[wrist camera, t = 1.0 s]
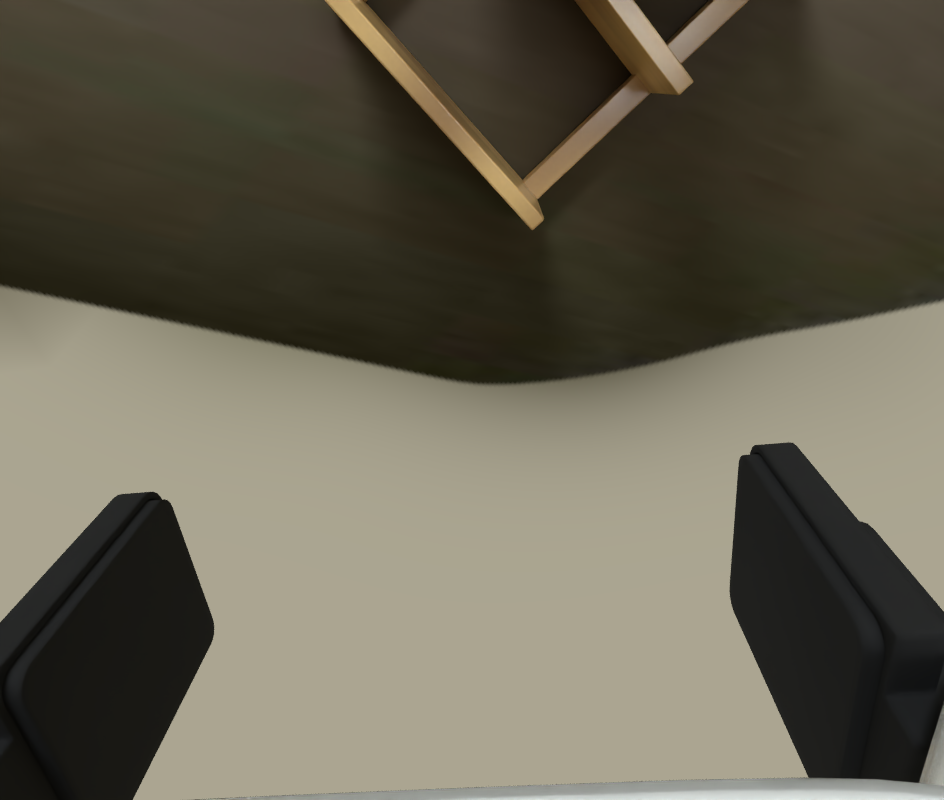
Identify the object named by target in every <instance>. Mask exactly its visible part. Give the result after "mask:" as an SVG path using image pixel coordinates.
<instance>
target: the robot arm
mask: <svg viewBox="0 0 944 800" xmlns="http://www.w3.org/2000/svg"><path fill="white" fill-rule="evenodd" d="M730 598H731V604H732V607H733V610H734V613H735V615H736V617H737V619H738V622H739V624H740V626H741V628H742V631H743V633H744V635H745V637H746V639H747V642H748V644H749V646H750V649H751V651H752V653H753V655H754V657H755V660H756V662H757V664H758V666H759V668H760V670H761V673H762V675H763V677H764V679H765V682H766V684H767V686H768V688H769V691H770V693H771V695H772V697H773V699H774V702H775V704H776V706H777V708H778V711H779V713H780V715H781V717H782V719H783V722H784V724H785V726H786V728H787V730H788V733H789V735H790V737H791V739H792V742H793V744H794V746H795V748H796V750H797V753H798V755H799V757H800V759H801V761H802V764H803V766H804V768H805V770H806V773H807V775H808V777H809V778H763V779H710V780H669V781H639V782H611V783H583V784H556V785H528V786H503V787H502V786H501V787H474V788H450V789H426V790H400V791H377V792H352V793H329V794H307V795H282V796H260V797H239V798H219V799H218V798H217V799H197V800H944V611H942V609H941V608H940V607H939V606H938V604H937V603H936V602H935V601H934V600H933V598H932V597H931V596H930V595H929V594H928V593H927V592H926V590H925V589H924V588H923V587H922V586H921V584H920V583H919V582H918V581H917V580H916V578H915V577H914V576H913V575H912V574H911V572H910V571H909V570H908V569H907V568H906V567H905V565H904V564H903V563H902V562H901V561H900V560H899V558H898V557H897V556H896V555H895V554H894V552H893V551H892V550H891V549H890V548H889V547H888V545H887V544H886V543H885V542H884V541H883V539H882V538H881V537H880V536H879V535H878V534H877V532H876V531H875V530H874V529H873V528H872V527H871V526H869V525H868V524H866V523H863V522H859V521H858V519H857V518H856V517H855V516H854V515H853V513H852V512H851V511H850V510H849V509H848V507H847V506H846V505H845V504H844V503H843V501H842V500H841V499H840V498H839V497H838V495H837V494H836V493H835V492H834V490H833V489H832V488H831V487H830V486H829V484H828V483H827V482H826V481H825V480H824V478H823V477H822V476H821V475H820V474H819V472H818V471H817V470H816V469H815V468H814V466H813V465H812V464H811V463H810V461H809V460H808V459H807V458H806V457H805V456H804V454H803V453H802V452H801V451H800V449H799V448H798V447H797V446H796V445H795V444H793V443H778V444H765V445H755V446H753V447H752V450H751V452H750V455H743V456H741V457H740V460H739V467H738V481H737V494H736V508H735V521H734V536H733V549H732V564H731V576H730ZM213 635H214V623H213V618H212V616H211V613H210V610H209V607H208V604H207V602H206V599H205V596H204V593H203V591H202V588H201V586H200V582H199V579H198V577H197V574H196V571H195V568H194V566H193V563H192V560H191V557H190V555H189V552H188V549H187V546H186V543H185V541H184V538H183V535H182V532H181V530H180V527H179V524H178V521H177V518H176V516H175V513H174V510H173V507H172V505H171V503H170V502H169V501H167V500H162V499H161V497H160V496H159V495H158V494H157V493H155V492H144V493H131V494H121V495H118V496H116V497H115V498H114V499H112V501H111V502H110V503H109V504H108V505H107V506H106V507H105V508H104V509H103V510H102V512H101V513H100V514H99V515H98V516H97V517H96V518H95V519H94V520H93V521H92V523H91V524H90V525H89V526H88V527H87V528H86V529H85V530H84V531H83V532H82V533H81V535H80V536H79V537H78V538H77V539H76V540H75V541H74V542H73V543H72V544H71V546H70V547H69V548H68V549H67V550H66V551H65V552H64V553H63V554H62V555H61V556H60V558H59V559H58V560H57V561H56V562H55V563H54V564H53V565H52V566H51V568H50V569H49V570H48V571H47V572H46V573H45V574H44V575H43V576H42V577H41V578H40V580H39V581H38V582H37V583H36V584H35V585H34V586H33V587H32V588H31V589H30V590H29V592H28V593H27V594H26V595H25V596H24V597H23V598H22V599H21V600H20V601H19V603H18V604H17V605H16V606H15V607H14V608H13V609H12V610H11V611H10V613H8V615H7V616H6V617H5V618H4V619H3V620H2V621H1V622H0V800H133V798H134V796H135V794H136V792H137V790H138V788H139V786H140V784H141V782H142V780H143V778H144V776H145V774H146V772H147V770H148V768H149V766H150V764H151V762H152V760H153V758H154V756H155V754H156V752H157V750H158V748H159V746H160V744H161V742H162V740H163V738H164V736H165V734H166V732H167V730H168V728H169V726H170V724H171V722H172V720H173V718H174V716H175V714H176V712H177V710H178V708H179V706H180V704H181V702H182V700H183V698H184V696H185V694H186V692H187V690H188V689H189V686H190V684H191V683H192V681H193V679H194V677H195V674H196V673H197V671H198V669H199V667H200V665H201V662H202V660H203V659H204V657H205V655H206V653H207V651H208V649H209V647H210V645H211V642H212V640H213Z"/></svg>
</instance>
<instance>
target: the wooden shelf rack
mask: <svg viewBox="0 0 944 800" xmlns="http://www.w3.org/2000/svg"><path fill="white" fill-rule="evenodd" d="M324 1H325V2H326V3H327V4H328V5H329V6H330V7H331V8H332V9H333V11H334V12H335V13H336V14H337V15H338V16H339V17H340V18H341V19H342V21H343V22H344V23H345V24H346V25H347V26H348V27H349V28H350V29H351V31H352V32H353V33H354V34H355V35H356V36H357V37H358V38H359V39H360V40H361V42H362V43H363V44H364V45H365V46H366V47H367V48H368V49H369V50H370V52H371V53H372V54H373V55H374V56H375V57H376V58H377V59H378V60H379V62H380V63H381V64H382V65H383V66H384V67H385V68H386V69H387V70H388V72H389V73H390V74H391V75H392V76H393V77H394V78H395V79H396V80H397V81H398V83H399V84H400V85H401V86H402V87H403V88H404V89H405V90H406V91H407V93H408V94H409V95H410V96H411V97H412V98H413V99H414V100H415V101H416V103H417V104H418V105H419V106H420V107H421V108H422V109H423V110H424V111H425V112H426V114H427V115H428V116H429V117H430V118H431V119H432V120H433V121H434V122H435V124H436V125H437V126H438V127H439V128H440V129H441V130H442V131H443V132H444V134H445V135H446V136H447V137H448V138H449V139H450V140H451V141H452V142H453V144H454V145H455V146H456V147H457V148H458V149H459V150H460V151H461V152H462V153H463V155H464V156H465V157H466V158H467V159H468V160H469V161H470V162H471V163H472V165H473V166H474V167H475V168H476V169H477V170H478V171H479V172H480V173H481V175H482V176H483V177H484V178H485V179H486V180H487V181H488V182H489V183H490V185H491V186H492V187H493V188H494V189H495V190H496V191H497V192H498V193H499V194H500V196H501V197H502V198H503V199H504V200H505V201H506V202H507V203H508V204H509V206H510V207H511V208H512V209H513V210H514V211H515V212H516V213H517V214H518V216H519V217H520V218H521V219H522V220H523V221H524V222H525V223H526V224H527V225H528V227H529V228H530V229H531V230H533V229H535V228H536V227H537V226H538V225H539V224H540V223H541V222H542V221H543V220H544V217H543V214H542V211H541V208H540V206H539V203H538V200H537V199H539V198H540V197H541V196H542V195H543V194H544V193H545V192H546V191H547V190H548V189H549V188H550V187H551V186H552V185H553V184H554V183H556V182H557V181H558V180H559V179H560V178H561V177H562V176H563V175H564V174H565V173H566V172H567V171H568V170H569V169H570V168H571V167H573V166H574V165H575V164H576V163H577V162H578V161H579V160H580V159H581V158H582V157H583V156H584V155H585V154H586V153H587V152H588V151H590V150H591V149H592V148H593V147H594V146H595V145H596V144H597V143H598V142H599V141H600V140H601V139H602V138H603V137H604V136H605V135H607V134H608V133H609V132H610V131H611V130H612V129H613V128H614V127H615V126H616V125H617V124H618V123H619V122H620V121H621V120H622V119H624V118H625V117H626V116H627V115H628V114H629V113H630V112H631V111H632V110H633V109H634V108H635V107H636V106H637V105H638V104H639V103H641V102H642V101H643V100H644V99H645V98H646V97H647V96H648V95H649V94H650V93H658V94H671V95H680V94H681V93H682V92H683V91H684V90H685V89H686V88H687V87H689V86H690V85H691V84H692V83H693V79H692V78H691V77H690V75H689V74H688V73H687V71H686V70H685V69H684V67H683V66H682V65H681V64H682V63H683V62H684V61H685V60H686V59H687V58H688V57H689V56H690V55H692V54H693V53H694V52H695V51H696V50H697V49H698V48H699V47H700V46H701V45H702V44H703V43H704V42H705V41H706V40H707V39H709V38H710V37H711V36H712V35H713V34H714V33H715V32H716V31H717V30H718V29H719V28H720V27H721V26H722V25H723V24H724V23H726V22H727V21H728V20H729V19H730V18H731V17H732V16H733V15H734V14H735V13H736V12H737V11H738V10H739V9H740V8H741V7H743V6H744V5H745V4H746V3H747V2H748V1H749V0H709V1H708V2H707V3H706V4H705V5H704V6H703V7H702V8H701V9H700V10H698V11H697V12H696V13H695V14H694V15H693V16H692V17H691V18H690V19H689V20H688V21H687V22H686V23H685V24H684V25H683V26H682V27H681V28H680V29H679V30H678V31H677V32H676V33H675V34H674V35H673V36H671V37H670V38H669V39H668V40H667V41H666V42H664V40H663V39H662V38H661V36H660V35H659V34H658V32H657V31H656V29H655V28H654V27H653V25H652V24H651V23H650V21H649V20H648V19H647V17H646V16H645V15H644V13H643V12H642V11H641V9H640V8H639V6H638V5H637V4H636V2H635V1H634V0H575V2H576V3H577V4H578V6H579V7H580V8H581V10H582V11H583V12H584V13H585V15H586V16H587V17H588V19H589V20H590V21H591V22H592V24H593V25H594V26H595V28H596V29H597V30H598V32H599V33H600V34H601V35H602V37H603V38H604V39H605V41H606V42H607V43H608V45H609V46H610V47H611V48H612V50H613V51H614V52H615V54H616V55H617V56H618V58H619V59H620V60H621V61H622V63H623V64H624V65H625V67H626V68H627V69H628V70H629V72H630V73H631V74H632V75H631V76H630V77H629V78H628V79H627V80H626V81H625V82H624V83H623V84H622V85H621V86H620V87H618V88H617V89H616V90H615V91H614V92H613V93H612V94H611V95H610V96H609V97H608V98H607V99H606V100H605V101H604V102H603V103H602V104H601V105H600V106H599V107H598V108H597V109H596V110H595V111H594V112H593V113H591V114H590V115H589V116H588V117H587V118H586V119H585V120H584V121H583V122H582V123H581V124H580V125H579V126H578V127H577V128H576V129H575V130H574V131H573V132H572V133H571V134H570V135H569V136H568V137H567V138H565V139H564V140H563V141H562V142H561V143H560V144H559V145H558V146H557V147H556V148H555V149H554V150H553V151H552V152H551V153H550V154H549V155H548V156H547V157H546V158H545V159H544V160H543V161H542V162H541V163H540V164H538V165H537V166H536V167H535V168H534V169H533V170H532V171H531V172H530V173H529V174H528V175H527V176H526V177H525V178H524V179H523V180H522V179H521V178H520V177H519V176H518V174H517V173H516V172H515V171H514V170H513V169H512V168H511V166H510V165H509V164H508V163H507V162H506V161H505V160H504V158H503V157H502V156H501V155H500V154H499V153H498V152H497V151H496V149H495V148H494V147H493V146H492V145H491V144H490V143H489V141H488V140H487V139H486V138H485V137H484V136H483V135H482V134H481V132H480V131H479V130H478V129H477V128H476V127H475V126H474V124H473V123H472V122H471V121H470V120H469V119H468V118H467V117H466V115H465V114H464V113H463V112H462V111H461V110H460V109H459V107H458V106H457V105H456V104H455V103H454V102H453V101H452V100H451V98H450V97H449V96H448V95H447V94H446V93H445V92H444V90H443V89H442V88H441V87H440V86H439V85H438V84H437V83H436V81H435V80H434V79H433V78H432V77H431V76H430V75H429V73H428V72H427V71H426V70H425V69H424V68H423V67H422V66H421V64H420V63H419V62H418V61H417V60H416V59H415V58H414V56H413V55H412V54H411V53H410V52H409V51H408V50H407V48H406V47H405V46H404V45H403V44H402V43H401V42H400V41H399V39H398V38H397V37H396V36H395V35H394V34H393V33H392V31H391V30H390V29H389V28H388V27H387V26H386V25H385V24H384V22H383V21H382V20H381V19H380V18H379V17H378V16H377V14H376V13H375V12H374V11H373V10H372V9H371V8H370V7H369V5H368V4H367V3H366V1H367V0H324Z"/></svg>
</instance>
